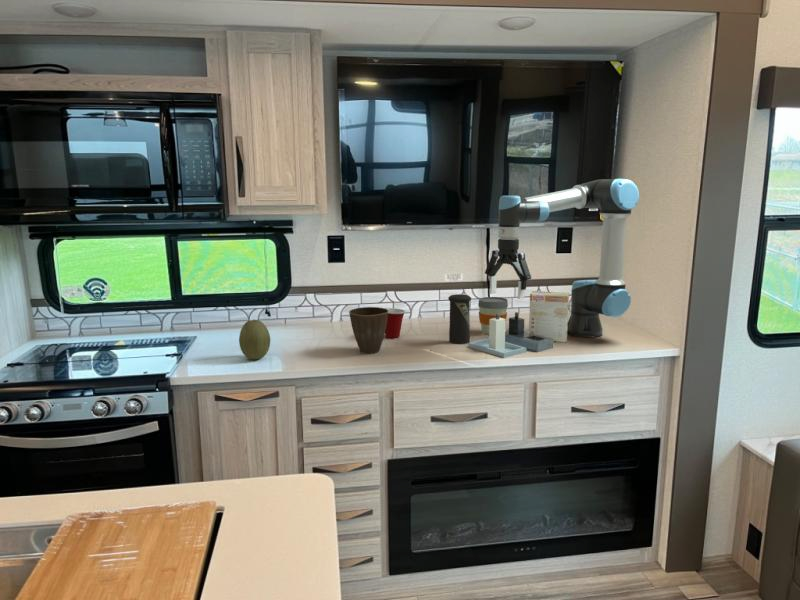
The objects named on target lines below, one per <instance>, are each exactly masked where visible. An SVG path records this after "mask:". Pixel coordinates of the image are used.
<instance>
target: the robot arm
mask: <svg viewBox="0 0 800 600" xmlns="http://www.w3.org/2000/svg"><path fill="white" fill-rule="evenodd" d="M639 199H640V194H639V189H638V187H637V185H636V184H635V182H633V181H632V180H630V179H626V178H607V179H605V178H603V179H602V178H601V179H596V180H592V181H588V182H584V183H581V184H580V183H579V184H576V185H573V187H572V188H568V189H563V190H559V191H554V192H553V191H552V192H548V193H543V194H538V195H537V194H536V195H533V196H527V197H522V198H521V196H520V195H501V196H500V198H499V202H498V204H499V205H498V229H497V230H498V232H497V233H498V235H497V236H498V240H497V248H498V250H497V249H495V250H492V251H491V256H490V258H489V260H488V261H489V262H488V264H487V266H486V269H485V270H484V274H485V275H488V278H489V279H488V284H489V294H490V295H493V294H497V279H498V276H497V274H498V273H497V272H499V270H500V269H501V267H502V266H503V265H504V264H505V265H510V266H511V267H512V268H513V269H514V271H515V274H516V275H517V277H518V279H519V280H518V283H517V284H518V285H517V299H519V300H522V299H525V293H526V292H525V290H526V289H527V281H528V280H531V279H532V274H531V273H530V270H529V266H528V263H527V261H526V255H525V254H526V253H524V252H520V253H519V251H518V250H519V246H520V240H519V239H518V238H520V225H521V224H520V223H525V222H527V223H529V222H531V223H532V222H537V223H538V222H544V221H546V220H547V219H548V217H549V215H550V213H552V212H559V211H563V210H567V209H568V210H569V209H572V208H576V209H578V210H580V209H584V208H585V209H587V208H588V209H599V215H600V216H601V217H602V218H603V219H602V231H601V233H602V235H601V246H600V247H601V248H600V249H601V250H600V262H599V275H598V276H599V277H598V279H583V280H574V281H573V282H572V285H571V293H570V294H571V300H570V315H569V317H568V329H567V335H570V336H572V337H574V336H575V337H577V338H578V337H581V338H596V337H597V338H598V337H600V336H603V334H604V330H603V329H604V327H603V325H602V322H601V317H600V315H603V316H605V317H610V318H611V317H612V318H619V317H621V316H622V315H624V314H625V313H626V312H627V311H628V310H629V308H630V305H631V301H632V297H631V294H630V293H629V291H628V290H627V289H626V282H625V281H624V280H623V272H624V271H623V269H624V255H625V241H626V232H627V231H626V229H627V219H628V218H629V217H630V216H631V215H632V209H634V208H635V207H636V206H637V204H638V203H639Z"/></svg>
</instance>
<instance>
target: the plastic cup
mask: <svg viewBox="0 0 800 600" xmlns="http://www.w3.org/2000/svg"><path fill="white" fill-rule="evenodd" d="M385 309H387V310H388V318H387V324H386V330H385V334H384V337H385V338H386V339H388V338H390V339H389V340H392V339H393V340H395V338H396V339H399V338H400V336H401V335H400V334H401V329H402V324H403V318H404V315H405V313H406V310H404V309H402V308H394V307H393V308H392V307H385Z"/></svg>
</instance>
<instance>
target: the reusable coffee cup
mask: <svg viewBox="0 0 800 600" xmlns="http://www.w3.org/2000/svg"><path fill="white" fill-rule="evenodd" d="M477 306H478V308H479V309H478V310H479V311H478V317H479V318H478V319H479V323H480V326H481V334H482V335H483V336H484V335H489V322H490V319H493V318H496V314H500V315H499V318H504V319H506V320H505V324H506V322H507V317H508V311H507V309H508V307H509V304H508V299H507V298H506V297H505V298H504V297H500V296H499V297H498V296H487V297H480V298H479V299H478V305H477Z"/></svg>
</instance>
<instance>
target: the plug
mask: <svg viewBox="0 0 800 600" xmlns="http://www.w3.org/2000/svg"><path fill="white" fill-rule="evenodd" d="M499 315H500V314H496V318H493V319H490V322H489V334H488V335H489V336H488V338H489V348H491V349H495V350H498V351H500V350H505V331H506V323H505V320H506V321H507V318H506V319H504V318H499Z"/></svg>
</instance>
